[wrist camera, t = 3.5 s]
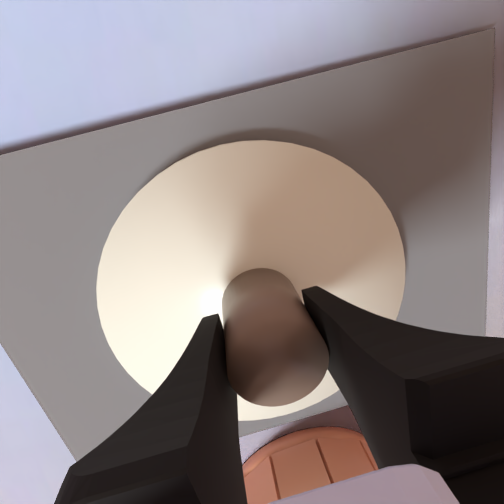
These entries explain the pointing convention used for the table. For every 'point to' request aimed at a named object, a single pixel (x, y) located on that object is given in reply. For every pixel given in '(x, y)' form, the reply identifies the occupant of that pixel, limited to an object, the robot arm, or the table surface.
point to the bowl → (305, 463)
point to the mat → (244, 129)
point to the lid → (247, 267)
